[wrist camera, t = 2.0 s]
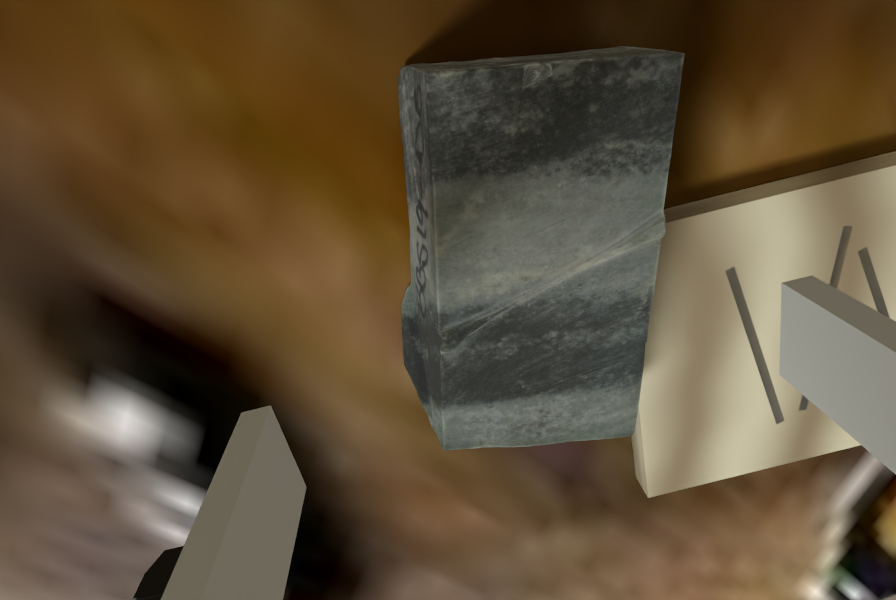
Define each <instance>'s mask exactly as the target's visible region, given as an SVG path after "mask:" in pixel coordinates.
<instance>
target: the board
mask: <svg viewBox="0 0 896 600" xmlns="http://www.w3.org/2000/svg"><path fill="white" fill-rule="evenodd" d="M663 212H664V215H665V224H666V232H665V234H664V237H662V238H661V243H660V252H659V259H658V266H657V273H656V281H655V288H654V295H653V302H652V308H651V315H650V321H649V327H648V337H647V342H646V343H645V358H644V369H643V376H642V383H641V391H640V399H639V406H638V413H637V421H636V427H635V433H634V434H633V436H631V437H632V446H633V454H634V463H635V472H636V478H637V479H638V481H639V483H640V485H641V486H642V488H643V490H644V492H645V493H646V495H647V497H648V498H650V497H654V496H658V495H662V494H666V493H670V492H674V491H678V490H682V489H686V488H690V487H694V486H698V485H702V484H706V483H710V482H714V481H718V480H722V479H726V478H730V477H734V476H738V475H742V474H746V473H750V472H754V471H758V470H762V469H766V468H770V467H774V466H778V465H782V464H787V463H791V462H795V461H799V460H803V459H807V458H811V457H815V456H819V455H823V454H827V453H831V452H835V451H839V450H843V449H847V448H851V447H855V446H859V445H861V444H860V443H858V442H857V441H856V440H855V439H854V438H853V437H851V436H850V435H849V434H848V433H847V432H846V431H844V430H843V429H842V428H841V427H840V426H839V425H837V424H836V423H835V422H834V421H833V420H832V419H830V418H829V417H828V416H827V415H826V414H825V413H823V412H822V411H821V410H820V409H819V408H818V407H816V406H815V405H814V404H813V403H812V402H811V401H809V400H808V399H807V398H806V397H805V396H804V395H802V394H801V393H800V392H799V391H798V390H797V389H795V388H794V387H793V386H792V385H791V384H790V383H788V382H787V381H786V380H785V379H784V378H783V377H781V376H780V375H779V372H780V328H781V284H782V282H786V281H791V280H795V279H799V278H803V277H807V276H811V275H812V276H814V277H816V278H818V279H819V280H821V281H823V282H825V283H827V284H829V285H830V286H832V287H834V288H836V289H838V290H839V291H841V292H843V293H845V294H847V295H849V296H850V297H852V298H854V299H856V300H858V301H860V302H861V303H863V304H865V305H867V306H869V307H870V308H872V309H874V310H876V311H878V312H880V313H881V314H883V315H885V316H887V317H889V318H890V319H892V320H894V321H896V151H894V152H890V153H886V154H882V155H878V156H874V157H870V158H866V159H862V160H858V161H854V162H850V163H846V164H842V165H838V166H834V167H830V168H826V169H822V170H818V171H814V172H810V173H806V174H802V175H798V176H794V177H791V178H787V179H783V180H779V181H775V182H771V183H767V184H763V185H759V186H755V187H751V188H747V189H743V190H739V191H735V192H731V193H727V194H723V195H719V196H715V197H711V198H707V199H703V200H699V201H695V202H691V203H687V204H683V205H679V206H675V207H671V208H667V209H663Z"/></svg>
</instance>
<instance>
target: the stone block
mask: <svg viewBox="0 0 896 600" xmlns="http://www.w3.org/2000/svg"><path fill="white" fill-rule="evenodd" d="M684 55H685V53H680V52H673V51H667V50H659V49H648V48H637V47H627V46H618V47H614V48H603V49H591V50H583V51H575V52H563V53H552V54H541V55H529V56H517V57H507V58H489V59H479V60H473V61H463V62H454V61H451V62H443V63H431V64H426V63H419V64H410V65H407V66H402V67H401V71H400V74H399V78H398V84H399V116H400V124H401V132H402V141H403V150H404V164H405V180H406V190H407V203H408V212H409V224H410V260H411V284H410V285H409V286H408V287H407V289H406V292H405V296H404V299H403V302H402V305H401V315H402V340H403V356H404V365H405V367H406V369H407V371H408V373H409V375H410V377H411V380H412V382H413V384H414V386H415V388H416V390H417V393H418V396H419V398H420V401H421V403H422V405H423V407H424V409H425V411H426V413H427V415H428V418H429V421H430V423H431V426H432V428H433V430H434V431H435V432H436V433H437V436H438V438H439V440H440V442H441V444H442V447H443V449H444V450H456V449H473V448H483V447H528V446H537V445H546V444H554V443H562V442H569V441H584V440H597V439H609V438H619V437H628V436H633V434H634V433H635V427H636V421H637V413H638V406H639V399H640V391H641V383H642V376H643V369H644V358H645V343H646V342H647V337H648V327H649V321H650V315H651V308H652V302H653V295H654V288H655V281H656V273H657V266H658V259H659V252H660V243H661V238H662V237H664V234H665V232H666V224H665V215H664V212H663V209H664V202H665V195H666V188H667V180H668V171H669V165H670V158H671V151H672V143H673V135H674V128H675V121H676V114H677V108H678V101H679V93H680V85H681V78H682V70H683V62H684Z"/></svg>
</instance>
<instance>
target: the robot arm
mask: <svg viewBox="0 0 896 600" xmlns="http://www.w3.org/2000/svg"><path fill="white" fill-rule="evenodd" d="M779 375H780V376H781V377H783V378H784V379H785V380H786V381H787V382H788V383H790V384H791V385H792V386H793V387H794V388H795V389H797V390H798V391H799V392H800V393H801V394H802V395H804V396H805V397H806V398H807V399H808V400H809V401H811V402H812V403H813V404H814V405H815V406H816V407H818V408H819V409H820V410H821V411H822V412H823V413H825V414H826V415H827V416H828V417H829V418H830V419H832V420H833V421H834V422H835V423H836V424H837V425H839V426H840V427H841V428H842V429H843V430H844V431H846V432H847V433H848V434H849V435H850V436H851V437H853V438H854V439H855V440H856V441H857V442H858V443H860V444H861V445H862V446H863V447H864V448H865V449H867V450H868V451H869V452H870V453H871V454H872V455H874V456H875V457H876V458H877V459H878V460H879V461H881V462H882V463H883V464H884V465H885V466H886V467H888V468H889V469H890V470H891V471H892V472H893V473H895V474H896V321H894V320H892V319H890V318H889V317H887V316H885V315H883V314H881V313H880V312H878V311H876V310H874V309H872V308H870V307H869V306H867V305H865V304H863V303H861V302H860V301H858V300H856V299H854V298H852V297H850V296H849V295H847V294H845V293H843V292H841V291H839V290H838V289H836V288H834V287H832V286H830V285H829V284H827V283H825V282H823V281H821V280H819V279H818V278H816V277H814V276H812V275H811V276H807V277H803V278H799V279H795V280H791V281H786V282H782V284H781V328H780V372H779ZM305 491H306V485H305V483H304V480H303V478H302V476H301V474H300V471H299V469H298V467H297V465H296V462H295V460H294V458H293V455H292V453H291V451H290V449H289V446H288V444H287V442H286V439H285V437H284V435H283V433H282V430H281V428H280V426H279V423H278V421H277V419H276V417H275V414H274V412H273V410H272V407H271V406H267V407H263V408H259V409H255V410H250V411H246V412H242V413H241V415H240V417H239V420H238V422H237V424H236V427H235V429H234V431H233V434H232V436H231V438H230V440H229V443H228V445H227V447H226V450H225V452H224V454H223V457H222V459H221V461H220V464H219V466H218V468H217V471H216V473H215V475H214V478H213V480H212V482H211V484H210V487H209V489H208V491H207V494H206V496H205V498H204V501H203V503H202V505H201V508H200V510H199V512H198V515H197V517H196V519H195V522H194V524H193V526H192V528H191V531H190V533H189V535H188V538H187V540H186V542H185V545H184V546H182V547H177V548H173V549H169V550H165V551H164V552H163V553H162V554H161V555H160V557H159V558H158V559H157V560H156V561H155V562H154V564H153V565H152V566H151V567H150V568H149V570H148V571H147V572H146V573H145V574H144V577H143V579H142V581H141V583H140V585H139V587H138V589H137V591H136V593H135V595H134V597H133V600H283V596H284V591H285V586H286V581H287V577H288V572H289V567H290V562H291V558H292V553H293V548H294V543H295V539H296V534H297V529H298V524H299V520H300V515H301V510H302V505H303V501H304V496H305Z"/></svg>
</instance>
